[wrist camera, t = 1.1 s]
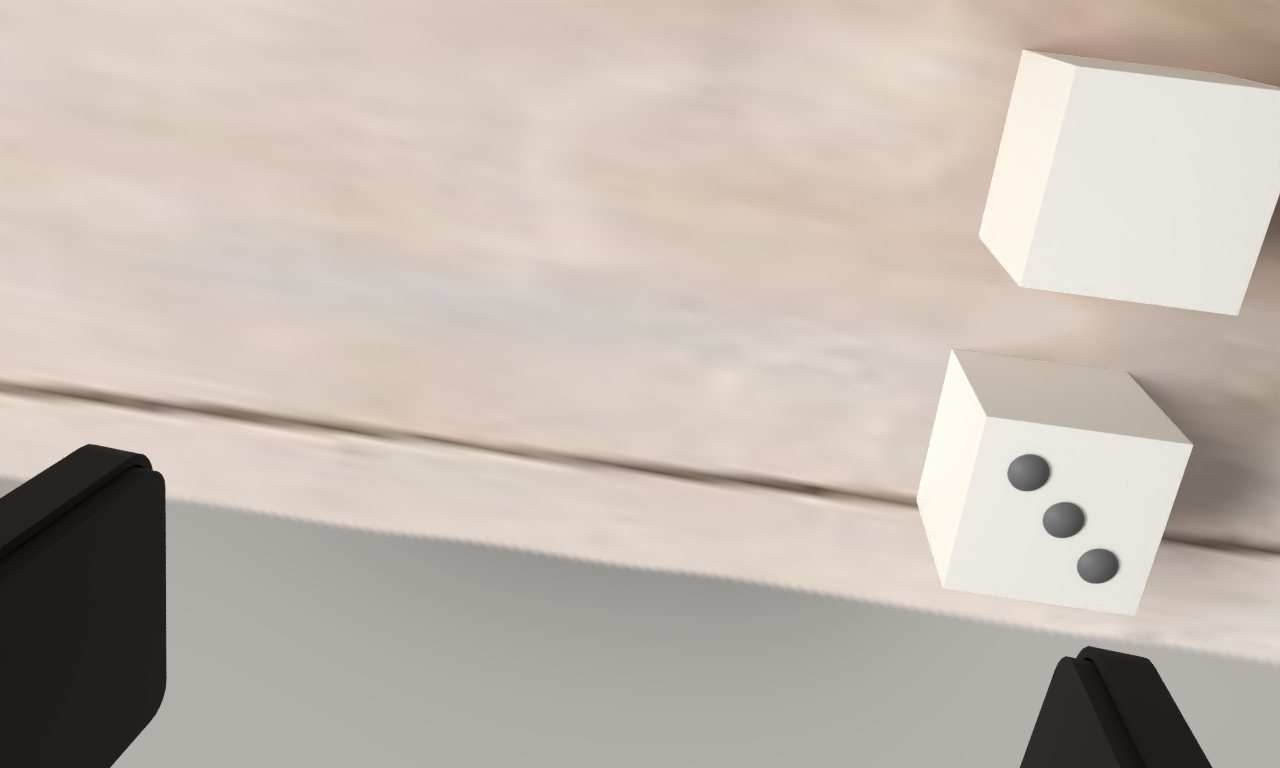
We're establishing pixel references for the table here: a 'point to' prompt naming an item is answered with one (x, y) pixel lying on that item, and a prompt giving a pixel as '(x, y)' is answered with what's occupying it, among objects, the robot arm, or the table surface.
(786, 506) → the table surface
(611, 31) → the table surface
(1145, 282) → the plain block
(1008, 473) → the three dot block
